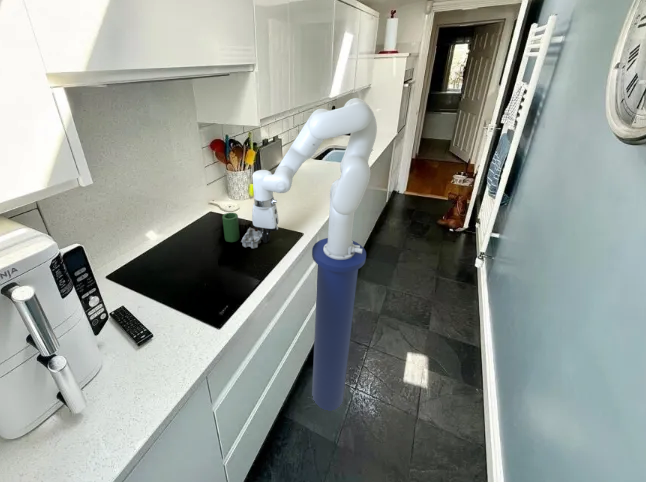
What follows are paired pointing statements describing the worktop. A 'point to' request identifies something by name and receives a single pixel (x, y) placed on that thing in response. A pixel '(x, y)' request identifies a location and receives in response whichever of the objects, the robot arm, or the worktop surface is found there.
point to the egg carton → (251, 238)
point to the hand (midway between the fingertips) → (266, 240)
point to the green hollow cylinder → (231, 227)
